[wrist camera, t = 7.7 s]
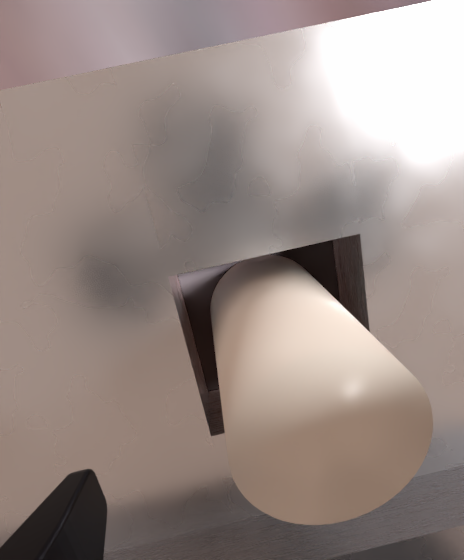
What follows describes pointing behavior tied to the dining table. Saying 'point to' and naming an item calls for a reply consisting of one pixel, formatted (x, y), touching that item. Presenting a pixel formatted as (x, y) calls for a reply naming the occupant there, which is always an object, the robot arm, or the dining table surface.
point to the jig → (221, 250)
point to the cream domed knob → (311, 398)
